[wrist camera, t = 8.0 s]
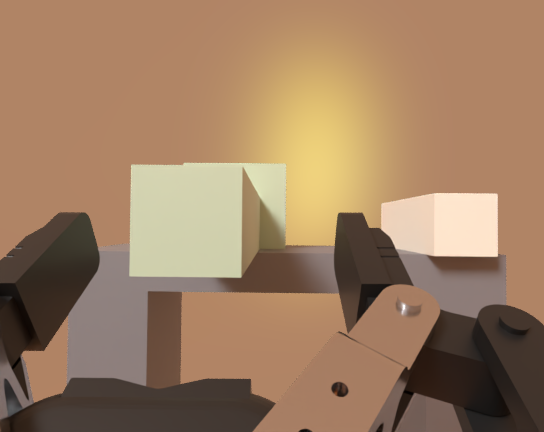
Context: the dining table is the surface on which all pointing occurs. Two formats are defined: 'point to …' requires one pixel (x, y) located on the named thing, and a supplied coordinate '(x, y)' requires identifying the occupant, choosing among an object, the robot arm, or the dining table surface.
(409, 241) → the cream bar
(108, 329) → the grey arch
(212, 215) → the pale yellow block
